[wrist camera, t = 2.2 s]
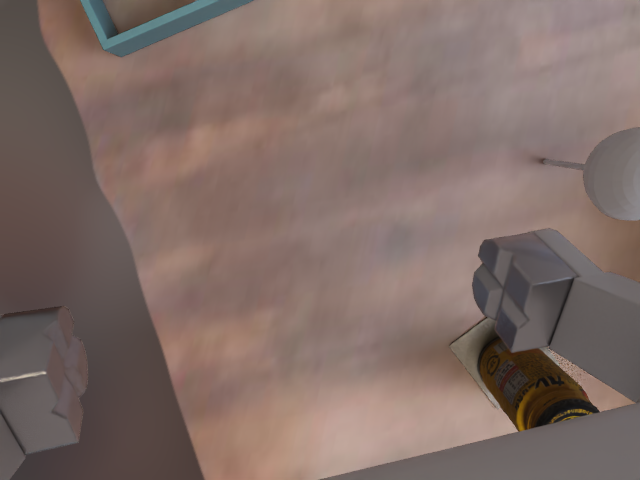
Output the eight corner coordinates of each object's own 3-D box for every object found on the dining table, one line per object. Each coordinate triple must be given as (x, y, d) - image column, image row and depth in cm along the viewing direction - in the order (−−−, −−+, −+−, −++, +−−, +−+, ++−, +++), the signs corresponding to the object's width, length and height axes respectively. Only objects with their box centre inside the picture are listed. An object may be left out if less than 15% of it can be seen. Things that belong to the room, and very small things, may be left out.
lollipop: (535, 209, 46) (646, 248, 32) (498, 158, 45) (596, 173, 31) (592, 165, 46) (732, 184, 31) (556, 112, 45) (685, 105, 30)
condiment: (496, 408, 50) (558, 493, 39) (447, 345, 49) (496, 414, 37) (559, 364, 50) (641, 438, 38) (511, 299, 48) (582, 354, 36)
